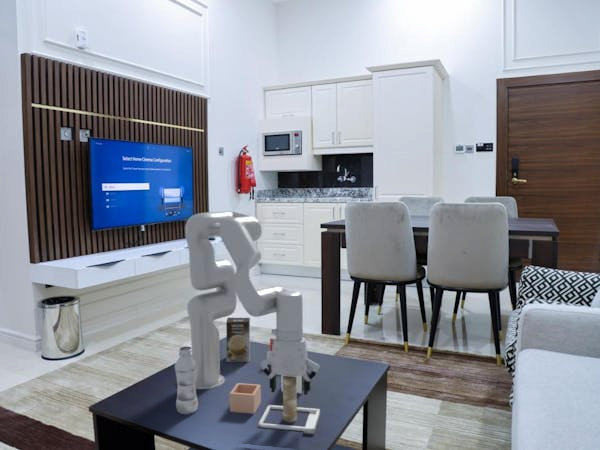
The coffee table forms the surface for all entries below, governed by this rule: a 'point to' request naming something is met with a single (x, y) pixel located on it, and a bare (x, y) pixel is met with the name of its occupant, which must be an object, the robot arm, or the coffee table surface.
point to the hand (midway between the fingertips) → (290, 391)
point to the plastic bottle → (186, 382)
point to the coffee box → (238, 339)
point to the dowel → (289, 398)
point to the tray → (308, 428)
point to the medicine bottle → (299, 384)
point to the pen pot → (245, 398)
